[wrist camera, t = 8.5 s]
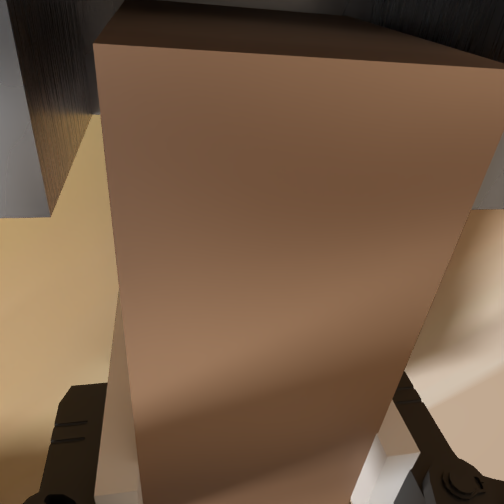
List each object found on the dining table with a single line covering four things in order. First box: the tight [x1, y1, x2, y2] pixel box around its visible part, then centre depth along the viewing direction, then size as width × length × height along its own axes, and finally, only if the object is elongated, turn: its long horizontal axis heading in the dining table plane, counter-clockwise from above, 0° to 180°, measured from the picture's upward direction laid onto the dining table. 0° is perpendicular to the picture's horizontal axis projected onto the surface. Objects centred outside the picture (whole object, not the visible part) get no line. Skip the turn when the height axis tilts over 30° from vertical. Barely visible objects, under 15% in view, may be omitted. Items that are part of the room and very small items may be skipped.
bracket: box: [0, 0, 504, 218], centre depth 8 cm, size 5×9×10 cm, turn 85°
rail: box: [93, 0, 504, 504], centre depth 12 cm, size 18×5×6 cm, turn 175°
